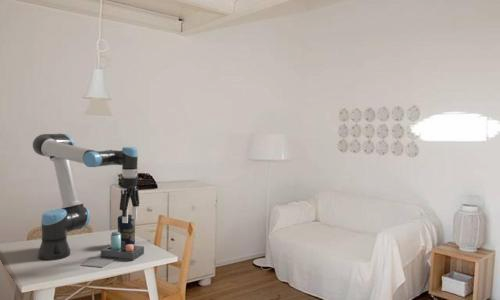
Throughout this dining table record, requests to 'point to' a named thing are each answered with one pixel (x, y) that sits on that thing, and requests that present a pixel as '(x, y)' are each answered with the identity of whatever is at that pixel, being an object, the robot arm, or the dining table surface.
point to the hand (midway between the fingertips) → (129, 220)
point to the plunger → (130, 247)
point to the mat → (97, 262)
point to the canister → (127, 230)
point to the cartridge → (115, 240)
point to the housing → (122, 253)
